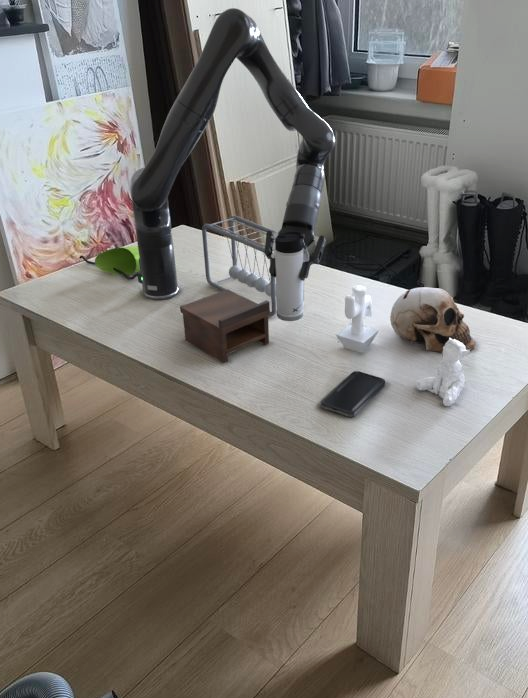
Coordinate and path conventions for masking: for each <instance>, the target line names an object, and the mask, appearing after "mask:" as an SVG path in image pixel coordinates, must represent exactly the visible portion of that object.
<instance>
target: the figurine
mask: <svg viewBox="0 0 528 698" xmlns="http://www.w3.org/2000/svg"><path fill="white" fill-rule="evenodd" d="M351 291H352V293H351V294H350V295H349V294H348V295H346V296H345V297H344V315H345V317H346V318H347V319H350V320H351V323H350V324H348V325H347V326H346V327H345V328H343V329H342V330H340V331H339V332H337V333H336V334H335V336H336V337H337V339H338V340H339V342H340V343H341V345H342V346H343V348H344V349H347V350H350V351H354V352H357V353H359V354H360V353H363V351H365V350H366V349H368V347H370V346H371V345H372V343H373V341H374V339H375V338H376V336H377V335H378V333H379V331H380V330H379V329H375V328H372V327H369V326H365V318H370V317H371V316H372V313H373V312H372V309H373V300H372V298H371V296H370V295H369V294H367V288H366V286H363V285H357V284H356V285H353V286H352V290H351Z"/></svg>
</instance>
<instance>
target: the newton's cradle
mask: <svg viewBox="0 0 528 698" xmlns="http://www.w3.org/2000/svg"><path fill="white" fill-rule="evenodd" d="M225 222H229V227H222V226H220V225H218V224H222V223H225ZM235 223H236V224H237V225H235ZM237 226H242V227H246V228H243V229H241V228H239V230H237V231H235V229H236V228H235V227H237ZM207 229H208V230H210V231H213V232H215V233H217V234H219V235H221V236H224V237H226V239H227V243H228V247H229V251H230V256H231V260H232V266H230V268H229V269H228V275H229V276H228V277H226V278H223V279H219V280H217V281H215V282H214V281H213V280H212V279H211V271H210V261H209V249H208V236H207V235H208V234H207ZM229 229H230V230H229ZM247 229H248V232H247V234H245V235H241V234H240V233H241V231H245V230H247ZM250 229H251V230H253V231H255V232H251V233H250ZM267 231H271V232H272V233H273V232H277V231H276V230H275V229H274V230H273V229H271V228H268V227H266V226H264V225H261V224H258V223H255V222H253V221H251V220H249V219H246V218H243V217H241V216H238V215H232V216H231V217H230V218H227V219H224V220H221V221H217V222H214V223H204V224H203V225H202V227H201V237H202V248H203V258H204V270H205V279H206V281H207V284H208V285H209V286H211V287H212V288H215V289H217V290H218V291H219V292H221V291H223V290H226V289H227V288H225V287H224V286H222V285H219V284H218V283H222V282H224V281H227V280H230V279H233V280H238V282H240V283H241V284H246V285H247V286H248V287H249V288H253V289H254V288H255V290H256V291H257V292H259V293H264V294H265V295H266V296H267V297H269V298H270V301H271V303H270V305H271V306H270V307H271V310H270V316H269V317H274V316H275V315H276V314H277V305H276V277H272V276H271V274H270V272H269V268H268V266H267V264H268V263H267V259H266V255H265V253H264V251H265V242H263V243H260V242H258V240H259V239H261V238H264V237H265V236H266V233H267ZM256 233H257V236H256V238H254V239H251V238H249V235H252V234H256ZM259 233H261V234H263V235H264V236H259ZM246 236H247V237H246ZM229 239H230V241H229ZM230 243H231V246H230ZM240 244H243V245H244V248H245V256H246V258H245V261H244V266H246V263H247V262H248V266H249V270H247V269H246V268H243V263H242V259H241V255H240V251H239V245H240ZM247 247H250V248H252V249H253V252H254V259H255V261H254V263H253V268H256V267H255V266H257V271H258V274H256V273H255V270H253V272H252V269H251V264H250V260H249V256H248V249H247ZM256 251H259V252H261V253H263V257H264V260H263V264H265V266H263V267H262V268H263V269H262V273H264V271H265V267H266V270H267V271H266V272H267V275H268V279H267V278H265V277H264V275H262V276H261V273H260V268H259V263H258V260H257V259H258V258H257V252H256ZM273 251H275V247H273ZM237 256H238V257H239V262H240V266H239V265H238V259H237ZM303 262H304V258H303ZM270 263H271V259H269V264H270ZM268 280H269V281H268ZM304 302H305V280H304V281H303V303H304Z"/></svg>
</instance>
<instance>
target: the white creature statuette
mask: <svg viewBox="0 0 528 698" xmlns="http://www.w3.org/2000/svg"><path fill="white" fill-rule="evenodd" d="M470 352H471V350H466V347H465V346H464V344H463V343H460V342H459V341H457V340H455V339H454V340H452V339H451V338H450V337H449V340H448V341H447V343H445V346H444V347H443V352H441V354H442V356H443V358H441V359H440V362H439V363H438V364H437V365H436V370H437V374H436V375H434V376H430V377H428V376H427V377H425V378H424V377H423V378H422V379H420V380H417V382H416V387H417V389H418V391H422V392H423V391H424V392H425V391H428V392H430V393H432V394H434V395H438V396H439V398H440V399H442V401H443V402H442V403H443V406H445V407H447V408H448V407H451V406H452V405H454V404H455V402H456V401H457V399H458V398H459V396H460V395H461V392H462V391H463V390H464V386H465V385H466V377H465V375H464V372H463V365H462V364H461V362H462V361H463V359H464V358H465V357H467V356H468V355H469V354H470ZM460 361H461V362H460Z"/></svg>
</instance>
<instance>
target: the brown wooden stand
mask: <svg viewBox="0 0 528 698" xmlns="http://www.w3.org/2000/svg"><path fill="white" fill-rule="evenodd" d="M225 289H226V290H223V291H219V292H215V293H212V294H210V295H208V296H205V297H203V298H200V299H197V300H193V301H192V302H189V303H186V304H183V305H181V306H179V309H180V311H179V312H180V313H181V314H182V321H183V329H184V330H183V331H184V338H185V342H187V343H189V344H190V345H192V346H193V347H195V348H197V349H199V351H202V352H204V353H205V354H207V355H209V356H210V357H212V358H214V359H216V360H217V361H219V362H221V363H222V364H226V363H228V362H229V360H228V358H229V357H228V354H231V353H233V352H235V351H238V350H240V349H242V348H244V347H246V346H249V345H251V344H253V343H256V342H258V343H261V344H262V345H264V346H266V345H269V344H270V329H269V317H271V316H270V312H271V306H270V305H271V303H270V301H269V300H263V301H262V302H259V303H257V302H256V301H253V300H251V299H249V298H247V297H245V296H243V295H240V294H238V293H236V292H234V291H232V290H230V289H228V288H225Z"/></svg>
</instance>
